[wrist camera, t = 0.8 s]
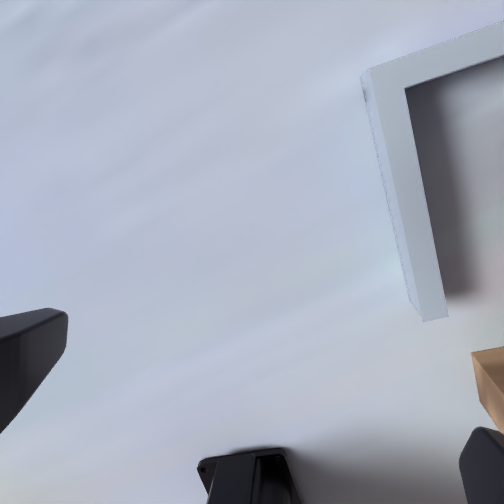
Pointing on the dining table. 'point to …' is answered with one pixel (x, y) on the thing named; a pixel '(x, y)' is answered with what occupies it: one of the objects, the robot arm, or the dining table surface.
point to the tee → (491, 382)
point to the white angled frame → (405, 155)
